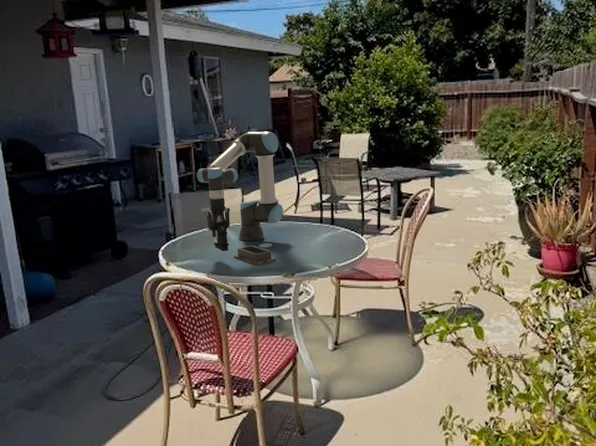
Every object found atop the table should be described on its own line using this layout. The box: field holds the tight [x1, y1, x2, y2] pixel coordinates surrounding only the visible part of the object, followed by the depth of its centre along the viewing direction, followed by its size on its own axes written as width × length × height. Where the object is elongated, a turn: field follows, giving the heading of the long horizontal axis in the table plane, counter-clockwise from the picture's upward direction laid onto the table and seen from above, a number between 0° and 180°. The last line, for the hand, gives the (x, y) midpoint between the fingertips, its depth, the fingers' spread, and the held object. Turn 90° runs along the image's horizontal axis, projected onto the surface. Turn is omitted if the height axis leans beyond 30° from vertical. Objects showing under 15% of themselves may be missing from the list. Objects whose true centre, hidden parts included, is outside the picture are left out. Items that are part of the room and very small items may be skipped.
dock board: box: [233, 254, 277, 266], centre depth 294 cm, size 12×21×1 cm, turn 39°
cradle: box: [237, 245, 272, 262], centre depth 294 cm, size 9×18×4 cm, turn 39°
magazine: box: [212, 220, 230, 252], centre depth 292 cm, size 4×13×15 cm, turn 31°
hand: (220, 241), depth 292 cm, fingers closed on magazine, 4 cm apart
